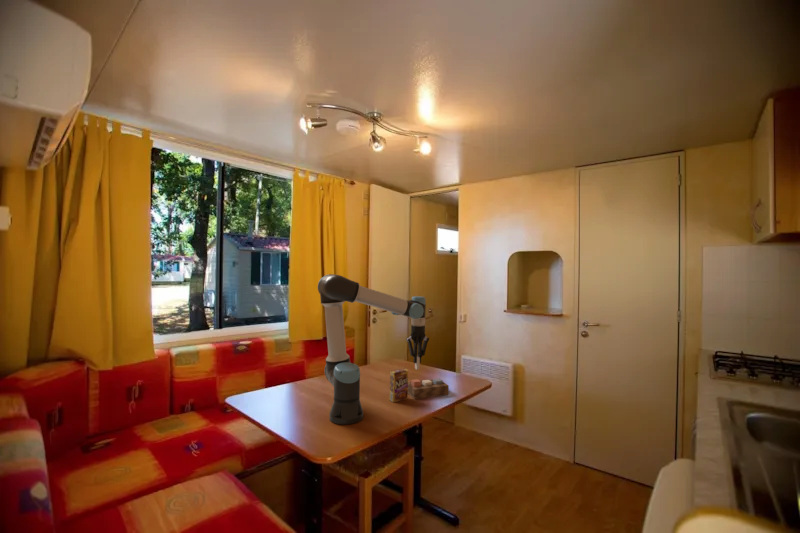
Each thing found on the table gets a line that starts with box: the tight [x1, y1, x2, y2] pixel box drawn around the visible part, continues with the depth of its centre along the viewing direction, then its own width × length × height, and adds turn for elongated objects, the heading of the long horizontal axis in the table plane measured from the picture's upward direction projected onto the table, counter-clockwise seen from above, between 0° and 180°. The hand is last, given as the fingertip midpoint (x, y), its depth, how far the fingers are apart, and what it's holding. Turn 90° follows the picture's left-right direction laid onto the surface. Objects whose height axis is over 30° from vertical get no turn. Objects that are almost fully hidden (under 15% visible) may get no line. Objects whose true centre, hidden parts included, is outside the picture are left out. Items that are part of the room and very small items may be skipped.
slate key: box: [433, 378, 444, 384], centre depth 195 cm, size 4×4×4 cm
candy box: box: [388, 368, 409, 403], centre depth 182 cm, size 9×4×15 cm, turn 123°
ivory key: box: [421, 379, 432, 386], centre depth 192 cm, size 4×4×4 cm
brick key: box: [410, 378, 422, 387], centre depth 190 cm, size 4×4×4 cm
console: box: [408, 378, 449, 400], centre depth 192 cm, size 20×12×5 cm, turn 111°
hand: (417, 368), depth 190 cm, fingers closed
